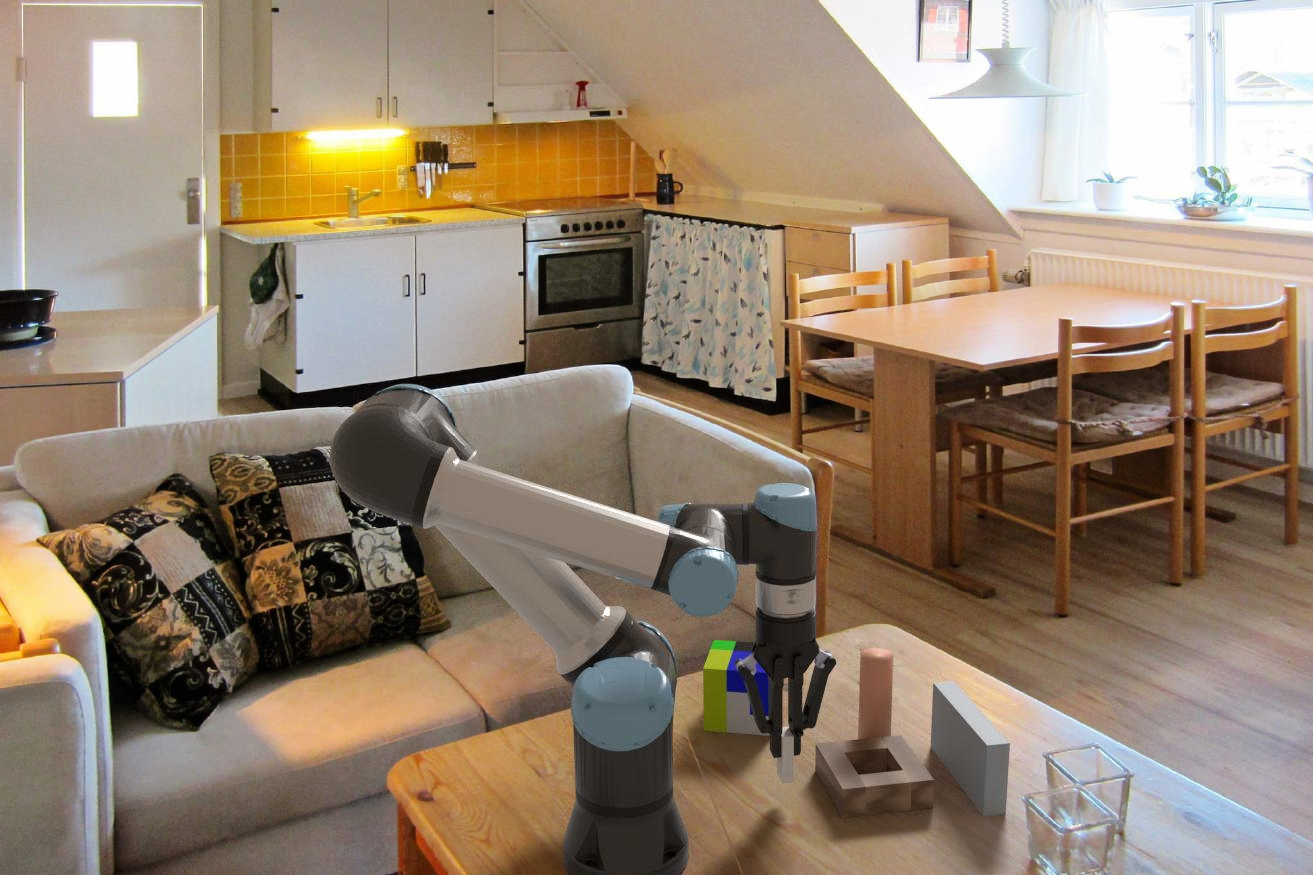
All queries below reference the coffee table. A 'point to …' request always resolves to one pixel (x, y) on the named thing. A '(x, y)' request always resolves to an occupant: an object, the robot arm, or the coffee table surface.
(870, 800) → the block
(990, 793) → the board
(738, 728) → the puzzle toy
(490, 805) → the coffee table surface
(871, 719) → the dowel
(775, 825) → the coffee table surface
